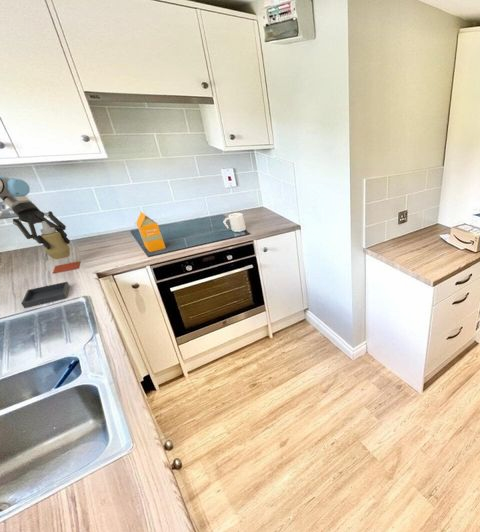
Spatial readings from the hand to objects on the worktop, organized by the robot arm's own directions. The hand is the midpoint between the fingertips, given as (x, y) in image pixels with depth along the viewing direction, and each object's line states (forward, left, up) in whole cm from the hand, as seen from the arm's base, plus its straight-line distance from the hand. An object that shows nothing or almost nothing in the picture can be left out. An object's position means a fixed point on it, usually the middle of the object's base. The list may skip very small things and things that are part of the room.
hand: (59, 244), depth 150 cm
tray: (-5, -27, -13) cm, 30 cm away
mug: (+77, +12, -13) cm, 79 cm away
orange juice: (+34, +7, -13) cm, 37 cm away
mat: (-2, +3, -13) cm, 13 cm away
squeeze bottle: (-2, +3, -7) cm, 8 cm away
